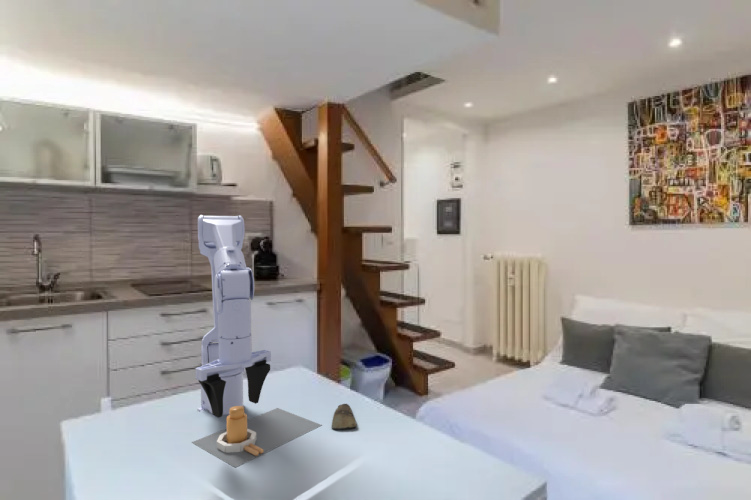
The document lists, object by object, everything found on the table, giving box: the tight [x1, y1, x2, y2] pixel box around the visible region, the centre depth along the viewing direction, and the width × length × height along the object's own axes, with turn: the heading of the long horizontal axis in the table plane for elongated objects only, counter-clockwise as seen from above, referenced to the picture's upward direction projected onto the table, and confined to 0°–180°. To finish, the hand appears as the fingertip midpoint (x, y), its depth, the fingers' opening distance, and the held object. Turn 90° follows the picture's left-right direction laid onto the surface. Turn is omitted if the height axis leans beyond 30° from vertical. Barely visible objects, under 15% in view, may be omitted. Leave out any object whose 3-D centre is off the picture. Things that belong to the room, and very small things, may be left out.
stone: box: [331, 403, 358, 430], centre depth 91 cm, size 13×5×2 cm, turn 8°
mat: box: [191, 407, 323, 468], centre depth 84 cm, size 14×20×2 cm
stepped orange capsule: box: [226, 405, 248, 444], centre depth 79 cm, size 4×4×6 cm
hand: (236, 408), depth 79 cm, fingers open, 7 cm apart
